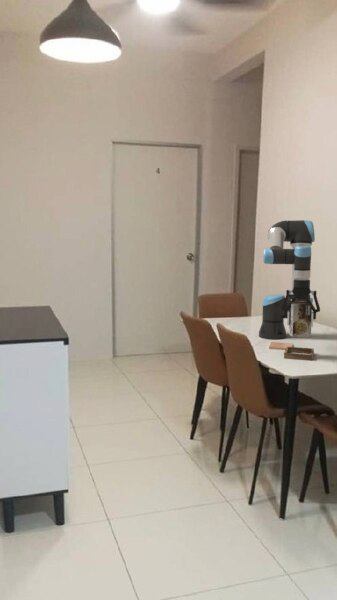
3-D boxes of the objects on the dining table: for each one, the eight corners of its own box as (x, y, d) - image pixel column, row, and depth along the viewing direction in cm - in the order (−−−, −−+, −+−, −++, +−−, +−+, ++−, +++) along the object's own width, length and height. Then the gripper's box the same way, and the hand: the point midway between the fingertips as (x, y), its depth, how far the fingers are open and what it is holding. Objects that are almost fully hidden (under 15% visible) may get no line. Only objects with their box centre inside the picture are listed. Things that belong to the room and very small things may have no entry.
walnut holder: (286, 351, 256) (286, 346, 255) (313, 353, 252) (313, 348, 252) (283, 358, 244) (284, 353, 243) (312, 360, 240) (312, 355, 239)
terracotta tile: (271, 343, 272) (271, 341, 272) (292, 345, 268) (292, 343, 268) (268, 348, 261) (268, 346, 261) (291, 350, 258) (291, 348, 258)
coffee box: (307, 333, 250) (308, 300, 247) (311, 336, 243) (312, 303, 241) (288, 333, 249) (289, 300, 247) (291, 337, 243) (293, 303, 240)
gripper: (276, 279, 242) (274, 325, 246) (327, 280, 235) (325, 328, 239) (277, 277, 249) (276, 322, 253) (327, 278, 242) (325, 325, 246)
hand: (300, 325), depth 246 cm, fingers closed on coffee box, 10 cm apart
